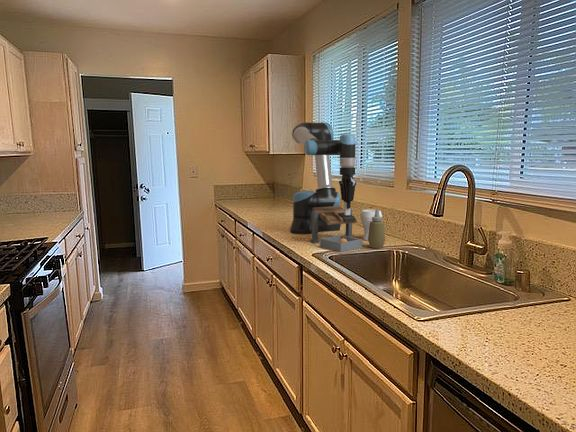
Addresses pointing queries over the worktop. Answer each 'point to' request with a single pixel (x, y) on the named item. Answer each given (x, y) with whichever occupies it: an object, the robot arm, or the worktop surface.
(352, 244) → the tray
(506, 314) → the worktop surface
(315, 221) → the lever stand
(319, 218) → the tipping lever
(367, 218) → the cup
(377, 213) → the squeeze bottle
